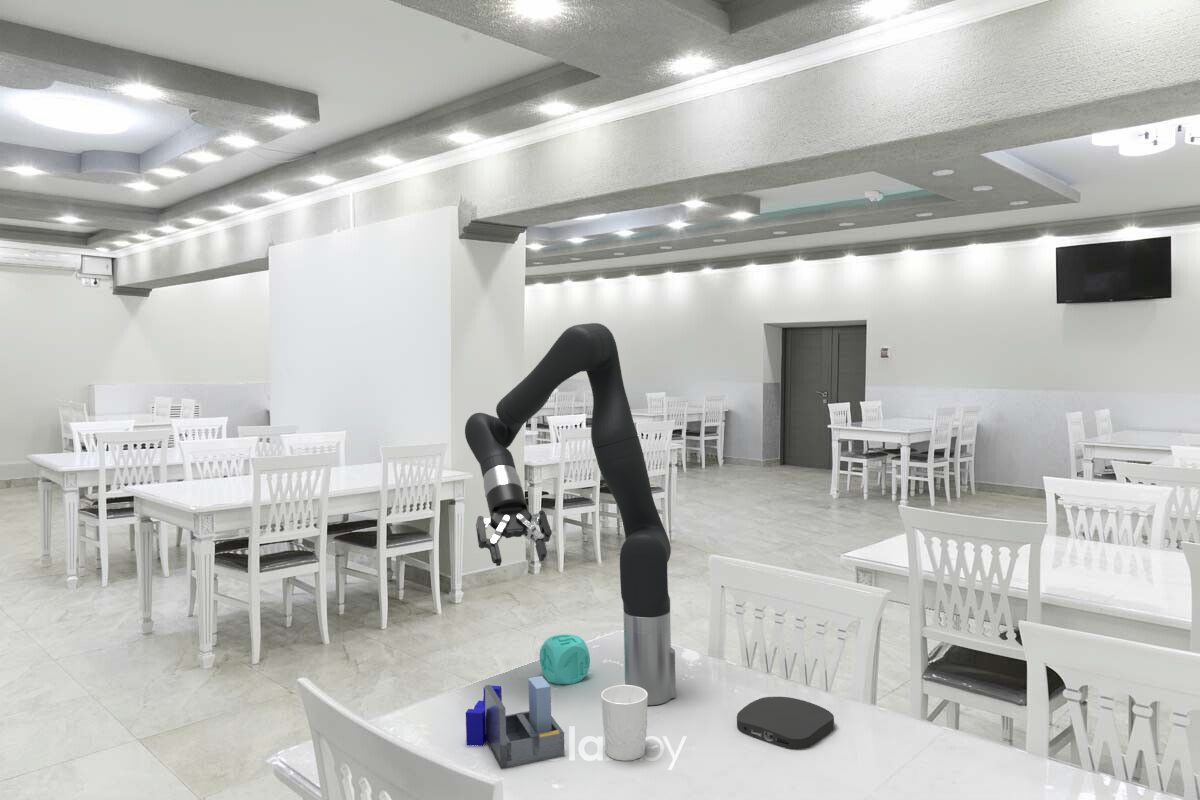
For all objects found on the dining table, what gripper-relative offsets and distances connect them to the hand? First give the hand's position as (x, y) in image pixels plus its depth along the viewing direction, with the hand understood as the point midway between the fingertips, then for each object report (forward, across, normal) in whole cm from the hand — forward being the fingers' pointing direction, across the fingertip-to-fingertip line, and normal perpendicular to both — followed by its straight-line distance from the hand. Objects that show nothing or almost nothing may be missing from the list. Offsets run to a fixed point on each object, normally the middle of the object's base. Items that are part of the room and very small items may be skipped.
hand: (521, 561), depth 154 cm
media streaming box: (+40, +41, +2) cm, 57 cm away
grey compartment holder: (+31, -4, +9) cm, 33 cm away
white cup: (+37, +11, +4) cm, 39 cm away
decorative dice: (+12, +12, +28) cm, 33 cm away
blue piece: (+24, -10, +17) cm, 31 cm away
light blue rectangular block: (+30, -2, +8) cm, 32 cm away
